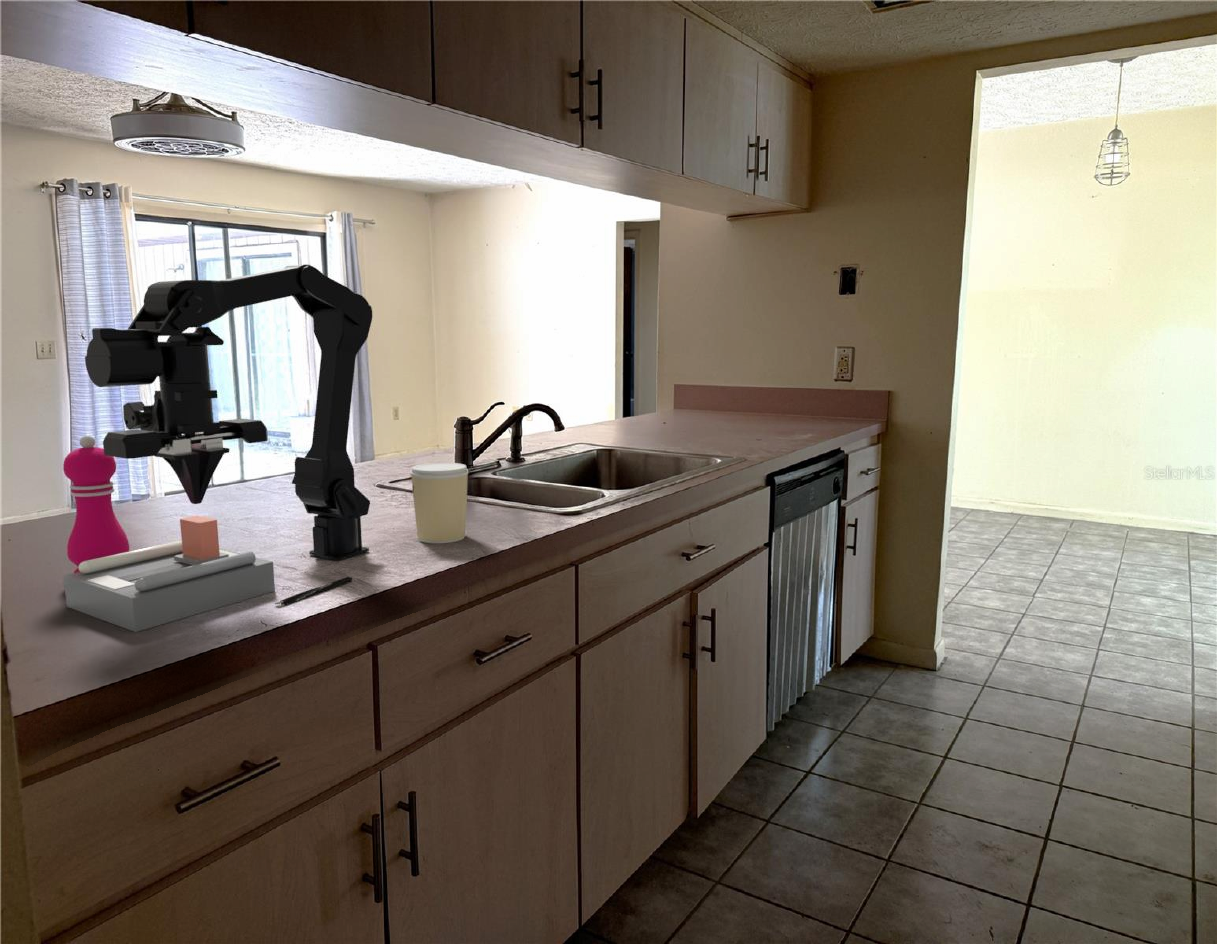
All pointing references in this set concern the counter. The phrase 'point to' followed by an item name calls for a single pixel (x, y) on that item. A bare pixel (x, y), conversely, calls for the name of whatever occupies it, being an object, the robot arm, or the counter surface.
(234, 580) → the box
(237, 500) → the counter surface
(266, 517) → the counter surface
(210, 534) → the lever
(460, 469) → the coffee cup
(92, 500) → the pepper mill
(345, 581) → the black thin rod
